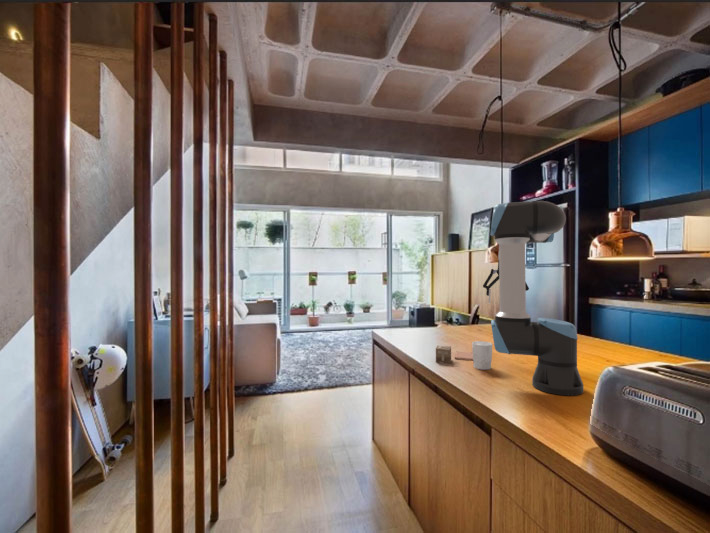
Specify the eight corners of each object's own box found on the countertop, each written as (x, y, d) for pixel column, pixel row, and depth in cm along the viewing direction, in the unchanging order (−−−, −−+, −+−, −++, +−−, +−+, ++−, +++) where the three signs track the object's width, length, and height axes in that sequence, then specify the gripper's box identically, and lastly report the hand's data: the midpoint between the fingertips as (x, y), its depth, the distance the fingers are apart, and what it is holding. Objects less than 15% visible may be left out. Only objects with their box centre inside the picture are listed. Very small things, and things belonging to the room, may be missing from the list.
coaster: (480, 361, 152) (480, 359, 152) (454, 359, 156) (454, 357, 156) (480, 354, 162) (480, 353, 162) (456, 353, 166) (456, 351, 166)
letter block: (450, 363, 149) (449, 349, 149) (435, 362, 151) (435, 348, 151) (451, 359, 155) (451, 346, 155) (437, 358, 157) (437, 345, 157)
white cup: (468, 366, 145) (467, 342, 145) (481, 363, 148) (481, 340, 148) (482, 371, 138) (482, 346, 138) (496, 368, 141) (496, 344, 141)
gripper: (534, 263, 168) (532, 306, 164) (479, 261, 177) (477, 302, 174) (536, 259, 161) (534, 305, 157) (479, 257, 170) (476, 300, 167)
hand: (504, 303), depth 166 cm, fingers open, 13 cm apart
